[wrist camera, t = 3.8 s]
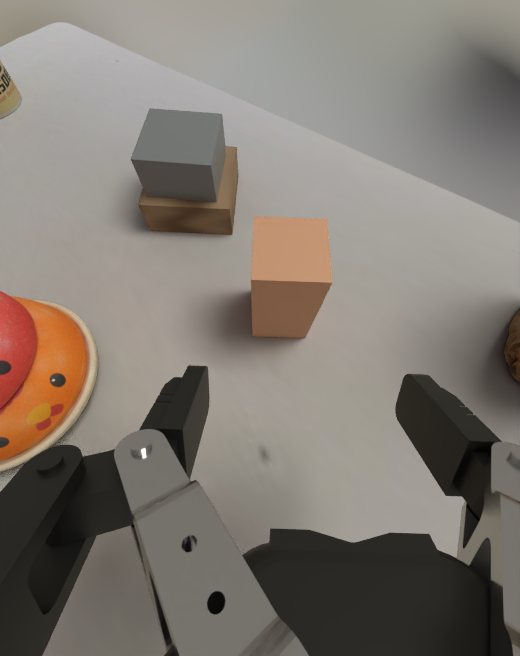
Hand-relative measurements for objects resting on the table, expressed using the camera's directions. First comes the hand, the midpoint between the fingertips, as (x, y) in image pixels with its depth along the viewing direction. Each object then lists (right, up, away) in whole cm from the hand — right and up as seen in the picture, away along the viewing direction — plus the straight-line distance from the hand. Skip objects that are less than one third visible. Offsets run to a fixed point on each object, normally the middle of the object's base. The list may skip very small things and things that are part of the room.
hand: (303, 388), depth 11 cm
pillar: (0, +4, +16) cm, 16 cm away
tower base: (-9, +17, +21) cm, 29 cm away
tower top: (-9, +19, +18) cm, 27 cm away
